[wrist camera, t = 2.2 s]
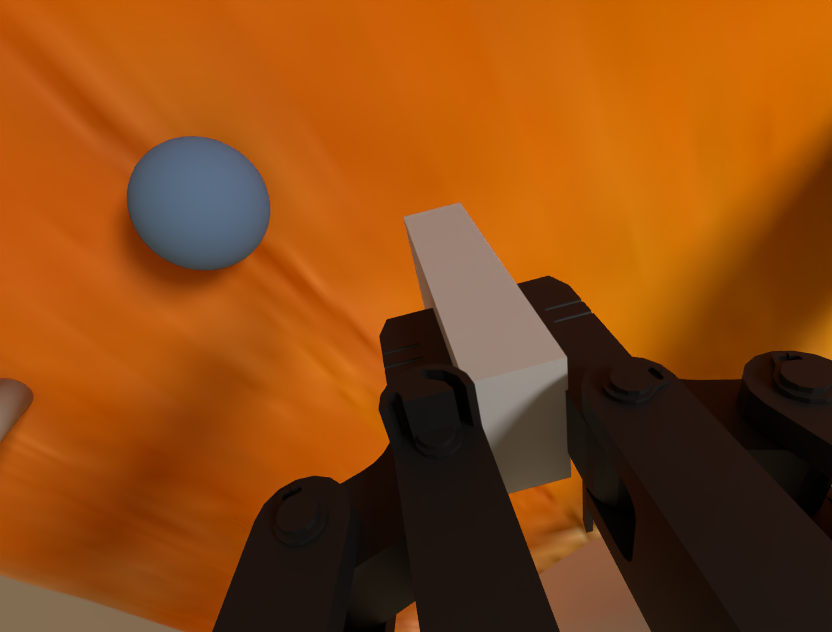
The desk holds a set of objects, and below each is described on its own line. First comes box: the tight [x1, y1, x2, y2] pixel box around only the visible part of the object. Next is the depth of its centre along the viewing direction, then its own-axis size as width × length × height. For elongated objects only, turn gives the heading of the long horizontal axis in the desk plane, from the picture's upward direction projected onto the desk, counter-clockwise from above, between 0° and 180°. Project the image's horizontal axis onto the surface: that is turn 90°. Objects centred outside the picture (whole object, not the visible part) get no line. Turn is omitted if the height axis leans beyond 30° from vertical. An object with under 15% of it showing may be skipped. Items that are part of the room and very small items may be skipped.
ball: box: [127, 136, 270, 270], centre depth 22 cm, size 6×6×6 cm
